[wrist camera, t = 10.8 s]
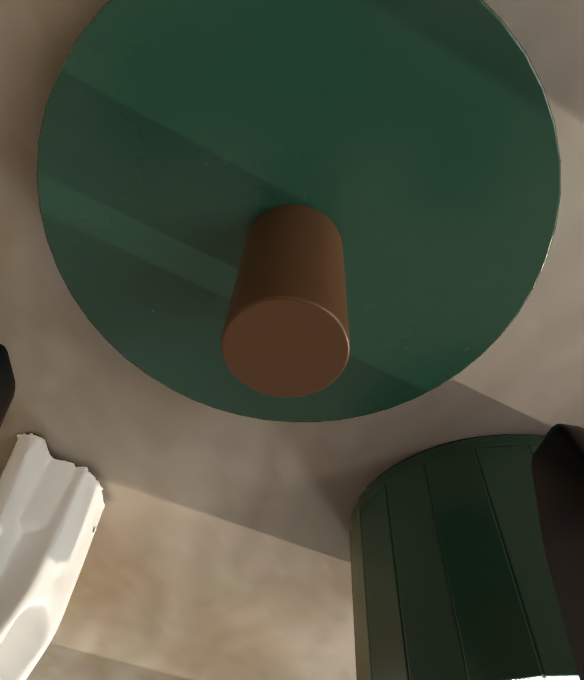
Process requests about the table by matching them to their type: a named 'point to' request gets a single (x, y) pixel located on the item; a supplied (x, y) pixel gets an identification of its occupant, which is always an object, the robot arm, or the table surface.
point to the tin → (456, 569)
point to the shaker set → (40, 548)
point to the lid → (299, 195)
